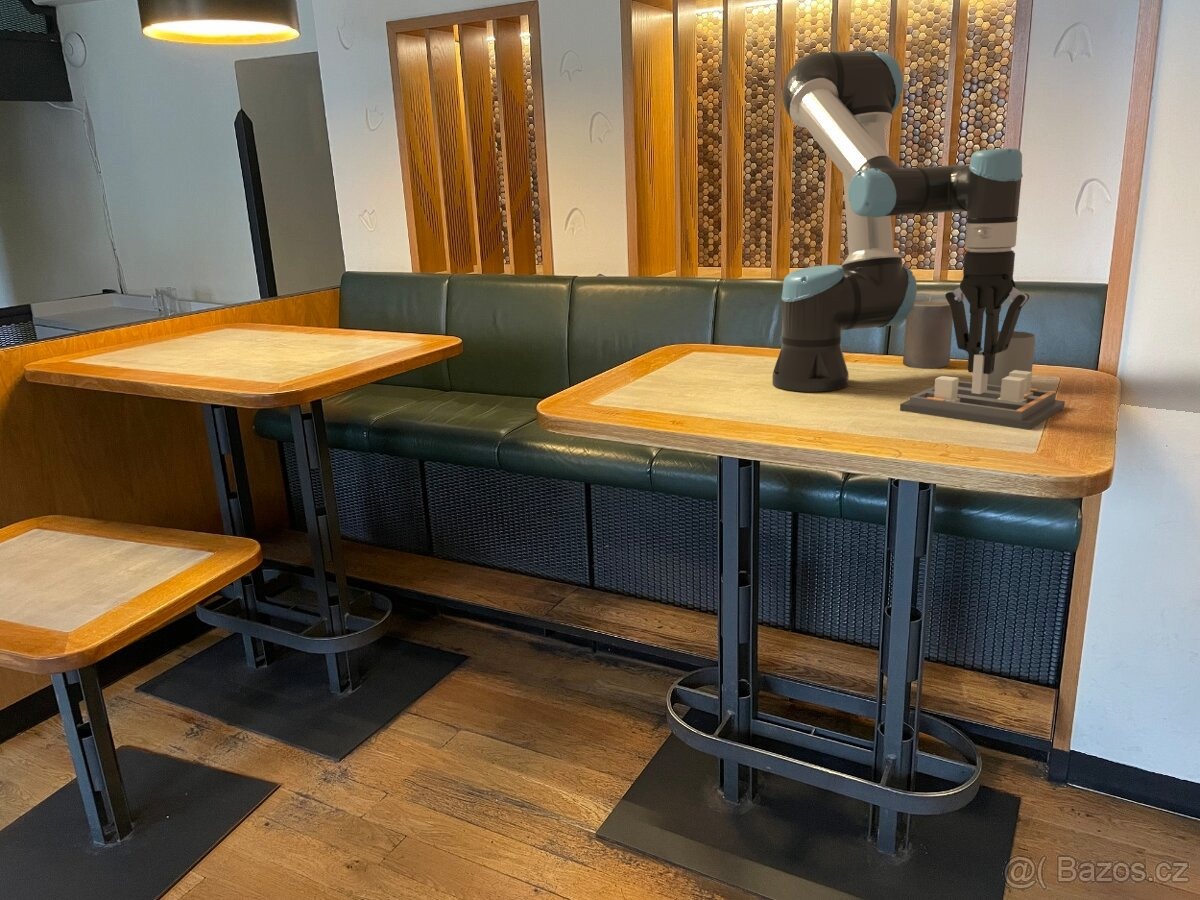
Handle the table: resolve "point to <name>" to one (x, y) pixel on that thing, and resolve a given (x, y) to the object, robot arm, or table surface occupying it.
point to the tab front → (946, 388)
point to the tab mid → (1013, 389)
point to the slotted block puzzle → (987, 406)
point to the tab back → (1024, 375)
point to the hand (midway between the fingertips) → (979, 391)
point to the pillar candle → (928, 334)
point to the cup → (1013, 357)
